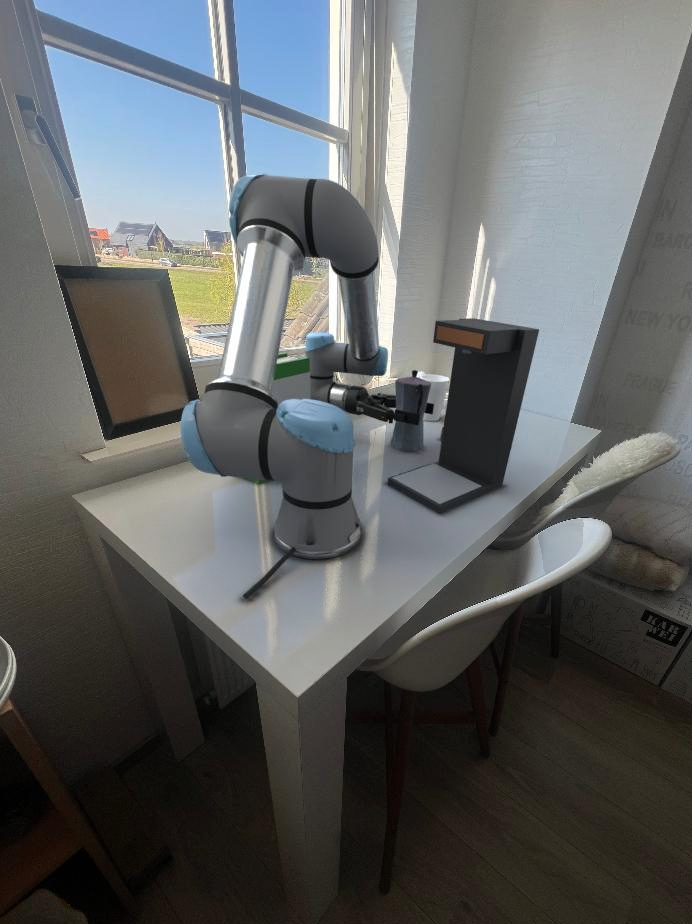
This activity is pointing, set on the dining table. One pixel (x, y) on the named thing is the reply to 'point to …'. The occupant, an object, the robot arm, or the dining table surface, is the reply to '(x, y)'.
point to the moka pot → (410, 399)
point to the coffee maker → (475, 412)
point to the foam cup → (436, 394)
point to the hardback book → (290, 381)
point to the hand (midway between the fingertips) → (426, 414)
